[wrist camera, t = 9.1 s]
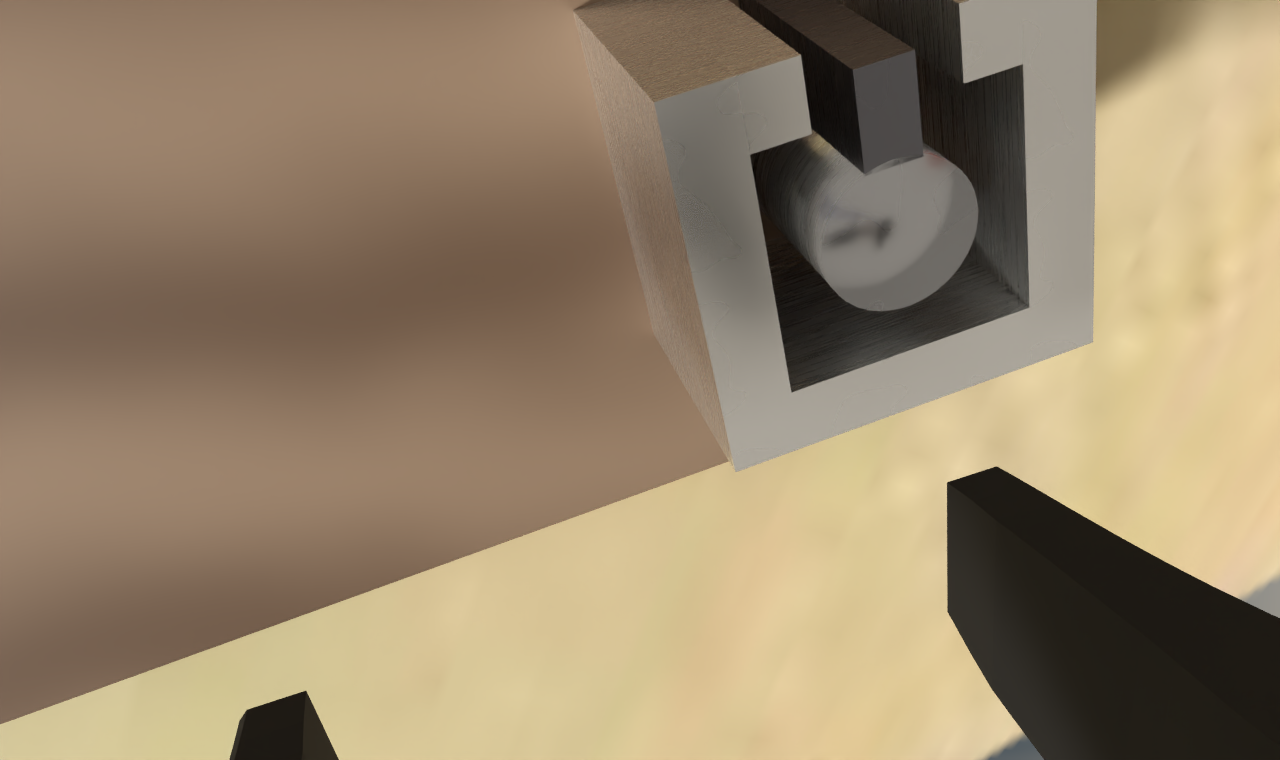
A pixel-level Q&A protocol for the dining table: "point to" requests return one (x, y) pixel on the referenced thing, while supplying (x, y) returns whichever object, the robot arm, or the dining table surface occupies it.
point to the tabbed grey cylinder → (862, 163)
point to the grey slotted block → (779, 274)
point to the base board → (300, 315)
